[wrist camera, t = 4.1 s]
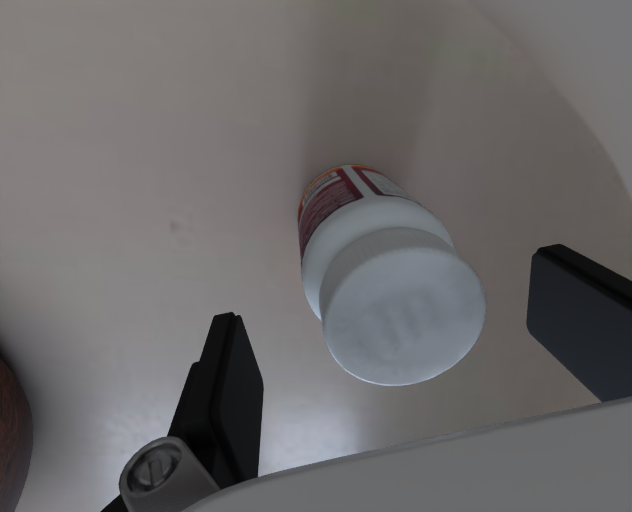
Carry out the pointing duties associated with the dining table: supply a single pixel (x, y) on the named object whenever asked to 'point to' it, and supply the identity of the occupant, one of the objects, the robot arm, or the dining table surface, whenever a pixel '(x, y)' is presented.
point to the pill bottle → (385, 279)
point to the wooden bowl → (13, 439)
